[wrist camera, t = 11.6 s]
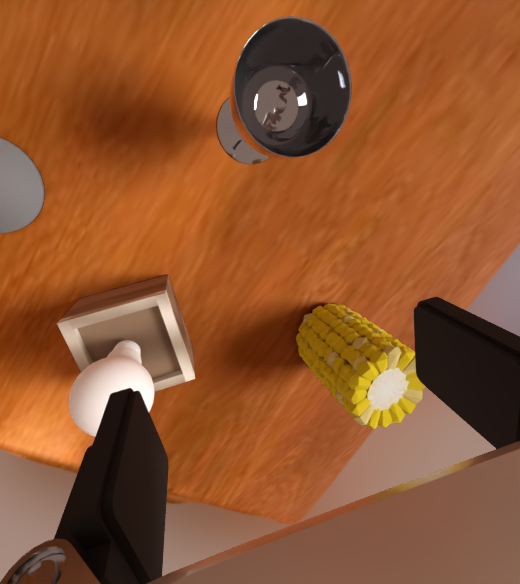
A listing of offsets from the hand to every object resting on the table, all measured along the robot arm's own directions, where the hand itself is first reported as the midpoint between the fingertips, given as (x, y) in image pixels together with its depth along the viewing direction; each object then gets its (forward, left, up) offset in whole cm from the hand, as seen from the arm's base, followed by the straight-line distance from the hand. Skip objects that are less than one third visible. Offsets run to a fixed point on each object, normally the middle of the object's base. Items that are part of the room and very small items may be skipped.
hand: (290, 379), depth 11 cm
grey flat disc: (-11, -19, -29) cm, 36 cm away
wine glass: (-11, +7, -29) cm, 32 cm away
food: (+16, +12, -29) cm, 36 cm away
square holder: (+7, -11, -29) cm, 32 cm away
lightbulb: (+7, -11, -23) cm, 27 cm away
